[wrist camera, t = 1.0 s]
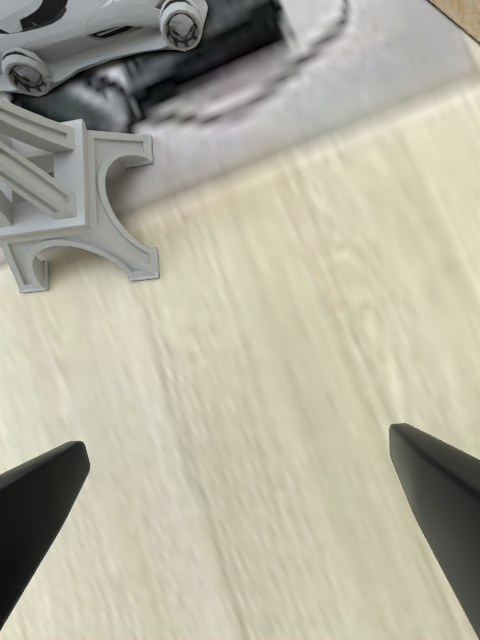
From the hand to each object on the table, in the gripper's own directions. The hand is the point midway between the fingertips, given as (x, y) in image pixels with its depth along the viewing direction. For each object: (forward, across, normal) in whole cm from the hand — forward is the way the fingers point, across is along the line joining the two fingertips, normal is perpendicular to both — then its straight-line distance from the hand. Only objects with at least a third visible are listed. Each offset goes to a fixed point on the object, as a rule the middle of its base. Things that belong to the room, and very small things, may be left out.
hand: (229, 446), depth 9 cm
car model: (+26, +14, -28) cm, 41 cm away
